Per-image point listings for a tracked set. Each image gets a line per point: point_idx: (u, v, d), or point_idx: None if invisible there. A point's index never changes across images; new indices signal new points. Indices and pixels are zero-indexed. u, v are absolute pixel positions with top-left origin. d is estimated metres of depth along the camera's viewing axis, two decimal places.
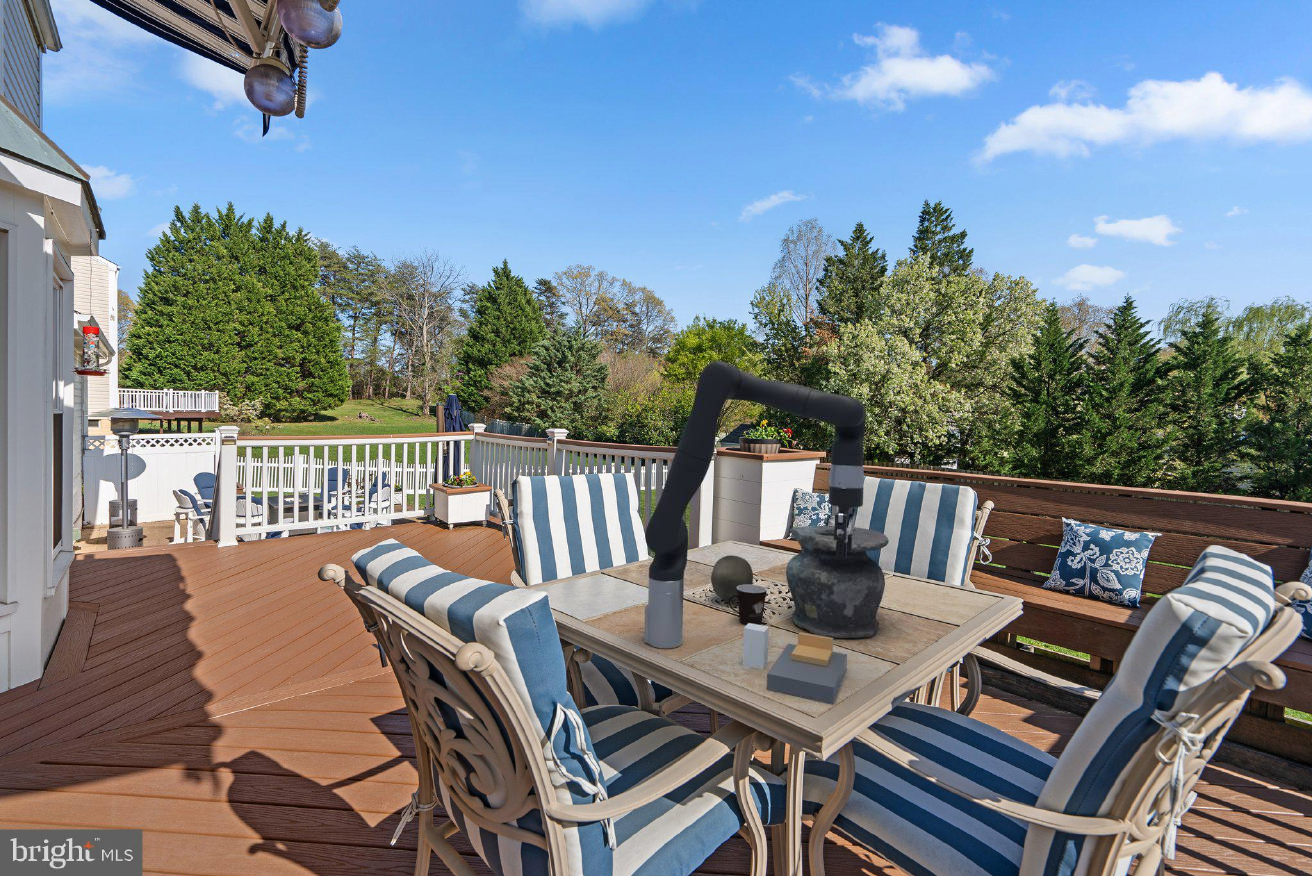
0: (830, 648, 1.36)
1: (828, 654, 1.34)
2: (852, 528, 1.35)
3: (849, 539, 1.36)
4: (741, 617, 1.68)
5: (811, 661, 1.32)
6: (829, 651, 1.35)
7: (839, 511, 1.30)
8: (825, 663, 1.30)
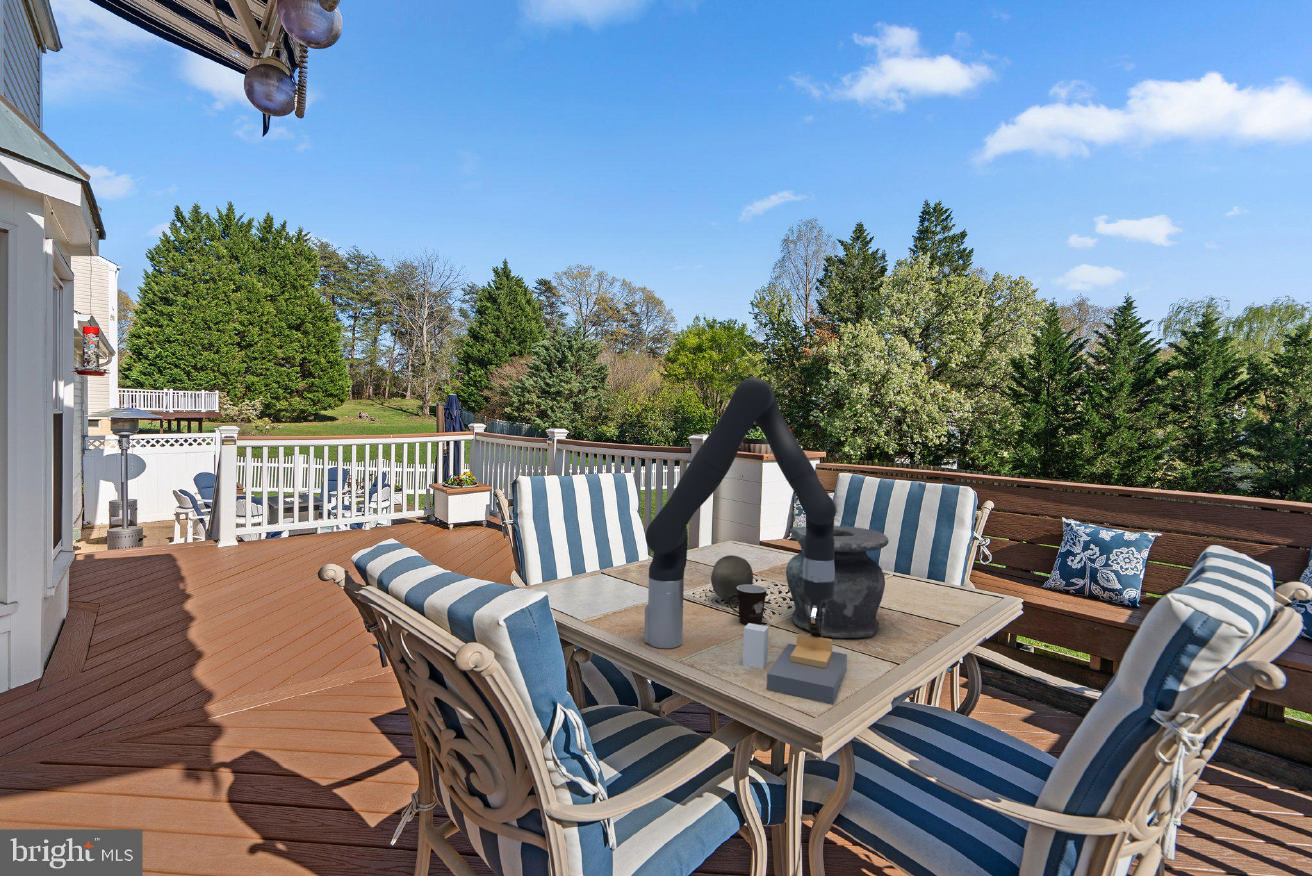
0: (829, 650, 1.35)
1: (827, 656, 1.33)
2: None
3: None
4: (741, 617, 1.68)
5: (810, 663, 1.31)
6: (828, 653, 1.34)
7: (811, 607, 1.37)
8: (824, 665, 1.29)
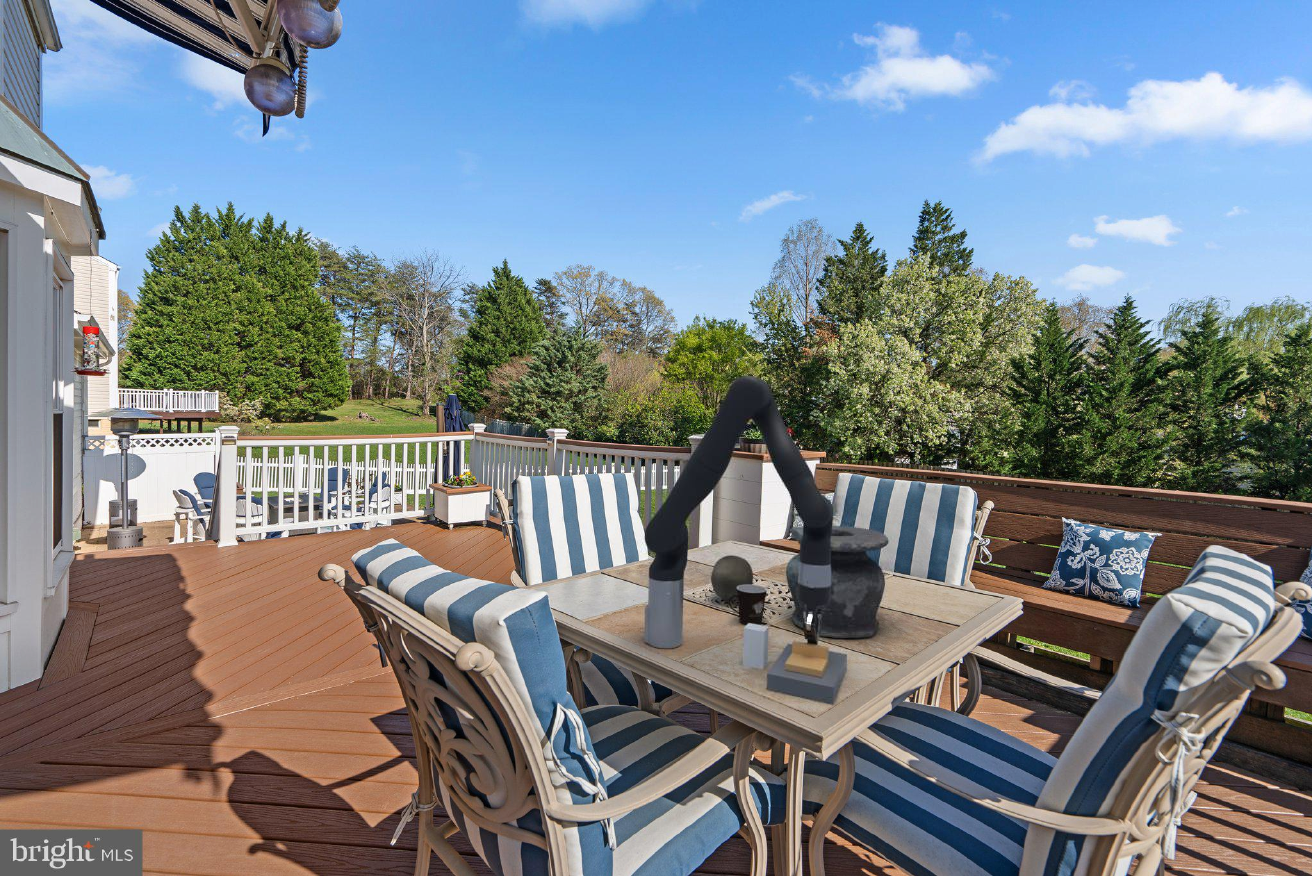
0: (825, 657, 1.31)
1: (823, 664, 1.28)
2: None
3: None
4: (741, 617, 1.68)
5: (805, 671, 1.26)
6: (824, 661, 1.30)
7: (806, 613, 1.32)
8: (820, 674, 1.25)
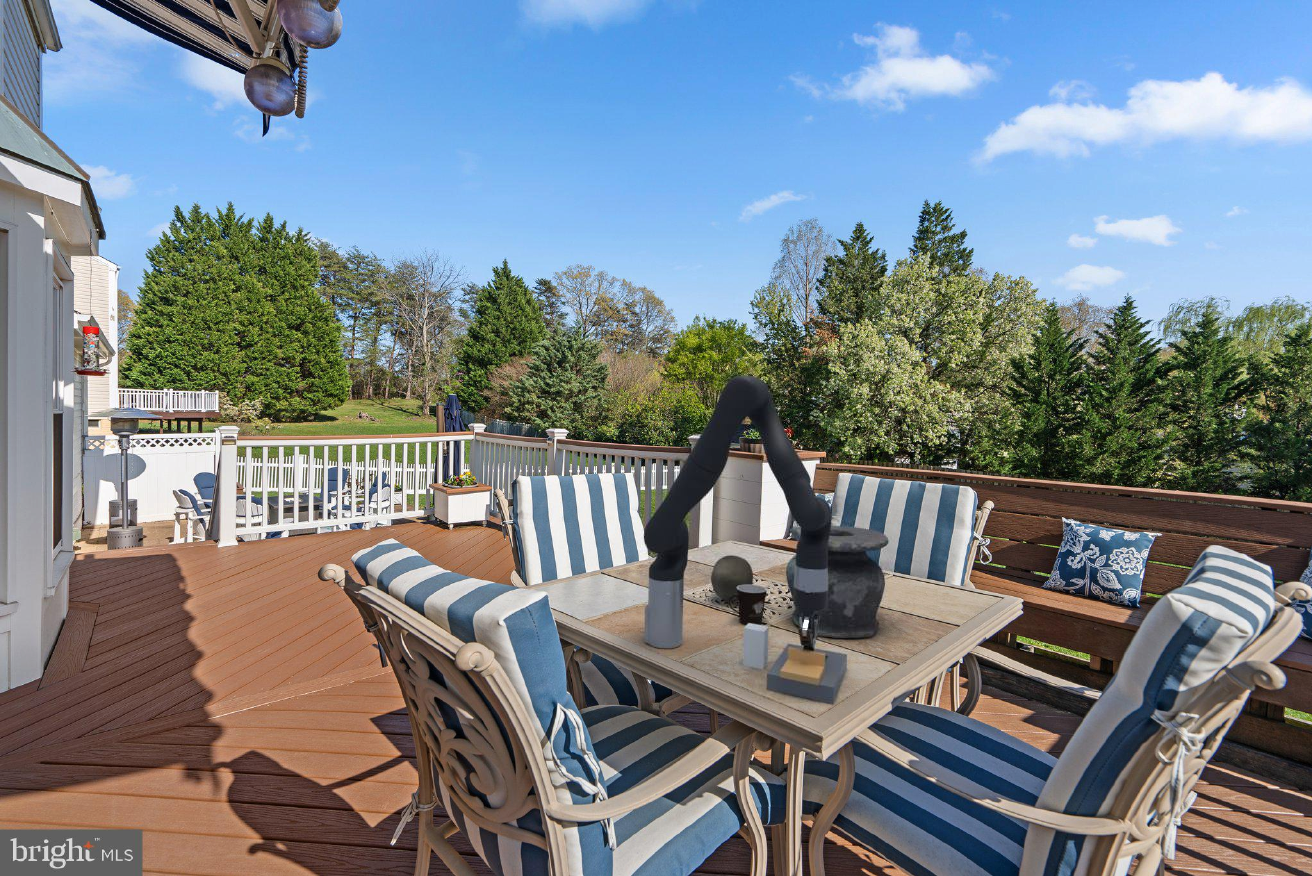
0: (822, 664, 1.27)
1: (820, 671, 1.24)
2: None
3: None
4: (741, 617, 1.68)
5: (801, 679, 1.22)
6: (821, 668, 1.26)
7: (803, 619, 1.28)
8: (816, 681, 1.21)
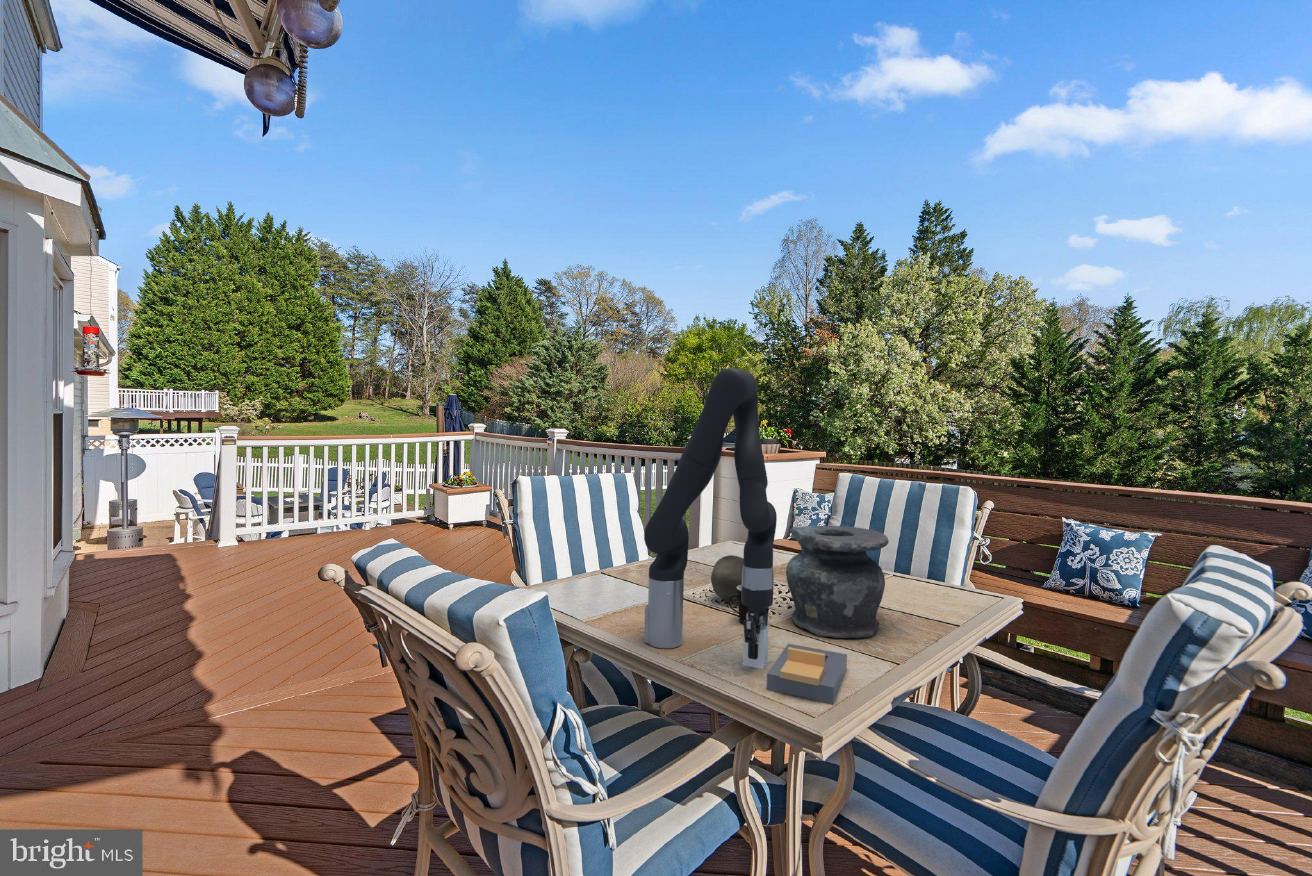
0: (822, 665, 1.27)
1: (819, 672, 1.24)
2: None
3: None
4: (741, 617, 1.68)
5: (801, 679, 1.22)
6: (821, 668, 1.26)
7: (748, 613, 1.36)
8: (816, 682, 1.20)
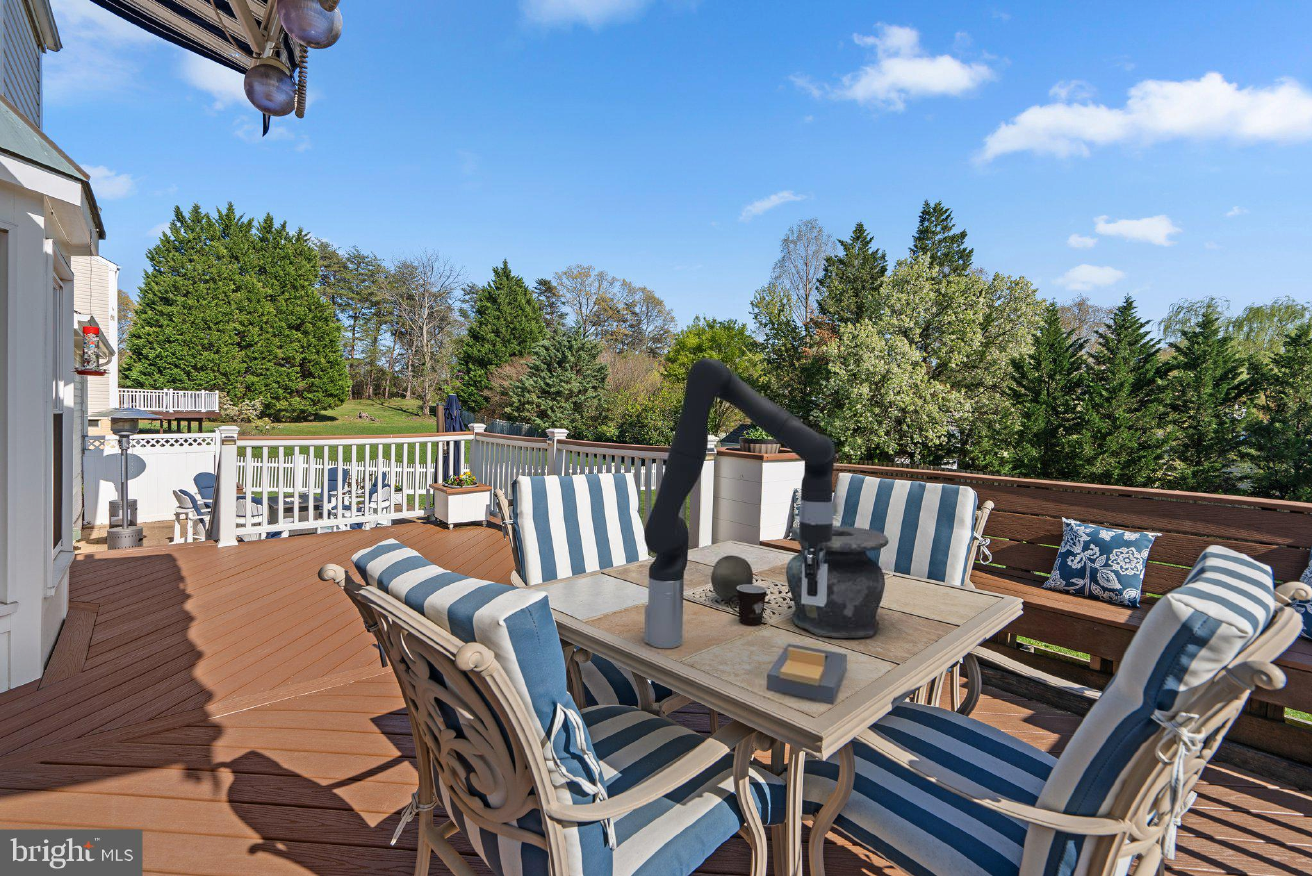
0: (822, 665, 1.27)
1: (819, 672, 1.24)
2: None
3: None
4: (741, 617, 1.68)
5: (801, 679, 1.22)
6: (821, 668, 1.26)
7: (808, 548, 1.32)
8: (816, 682, 1.20)
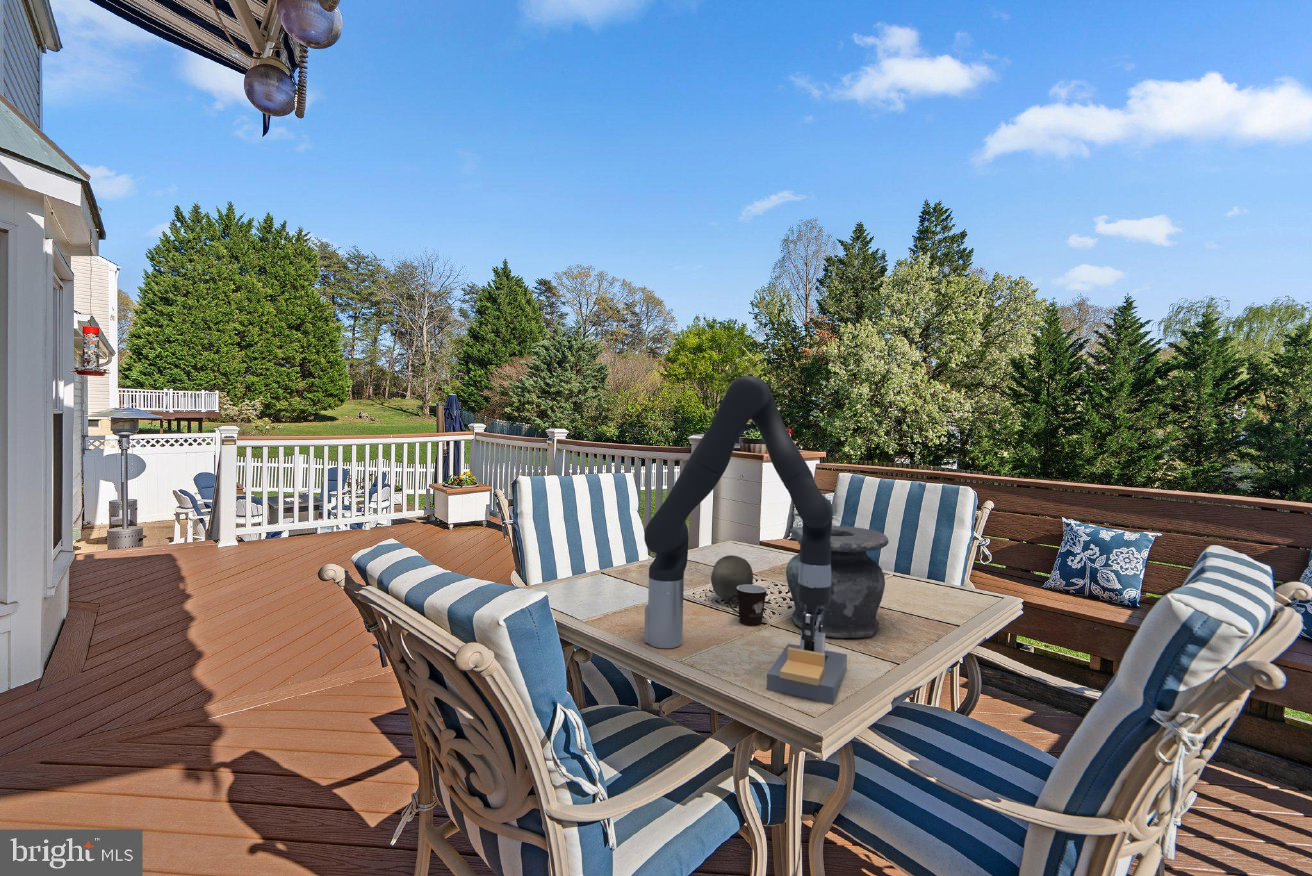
0: (822, 665, 1.27)
1: (819, 672, 1.24)
2: (821, 622, 1.37)
3: None
4: (741, 617, 1.68)
5: (801, 679, 1.22)
6: (821, 668, 1.26)
7: (807, 610, 1.32)
8: (816, 682, 1.20)
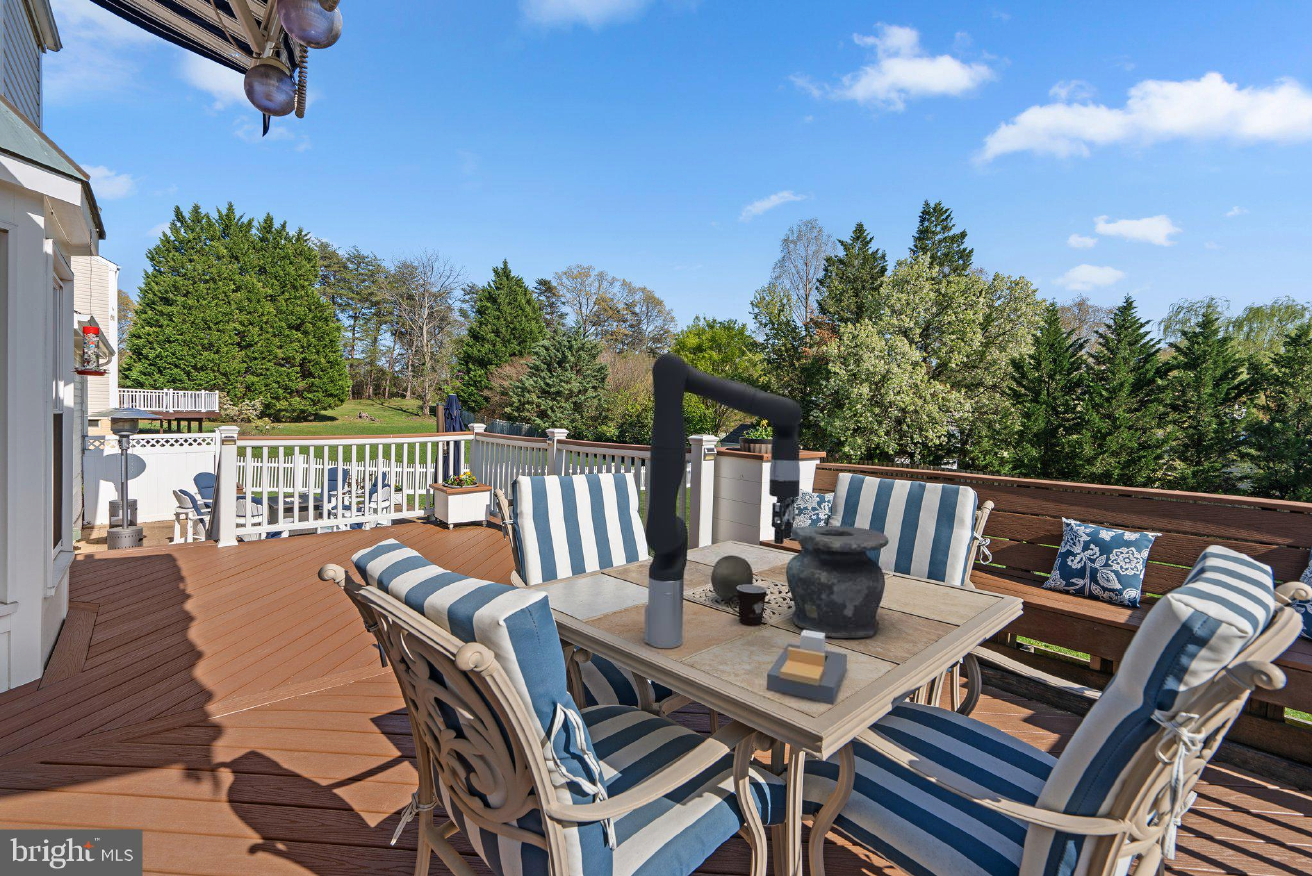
0: (822, 665, 1.27)
1: (819, 672, 1.24)
2: (791, 517, 1.50)
3: (789, 527, 1.52)
4: (741, 617, 1.68)
5: (801, 679, 1.22)
6: (821, 668, 1.26)
7: (777, 501, 1.45)
8: (816, 682, 1.20)
